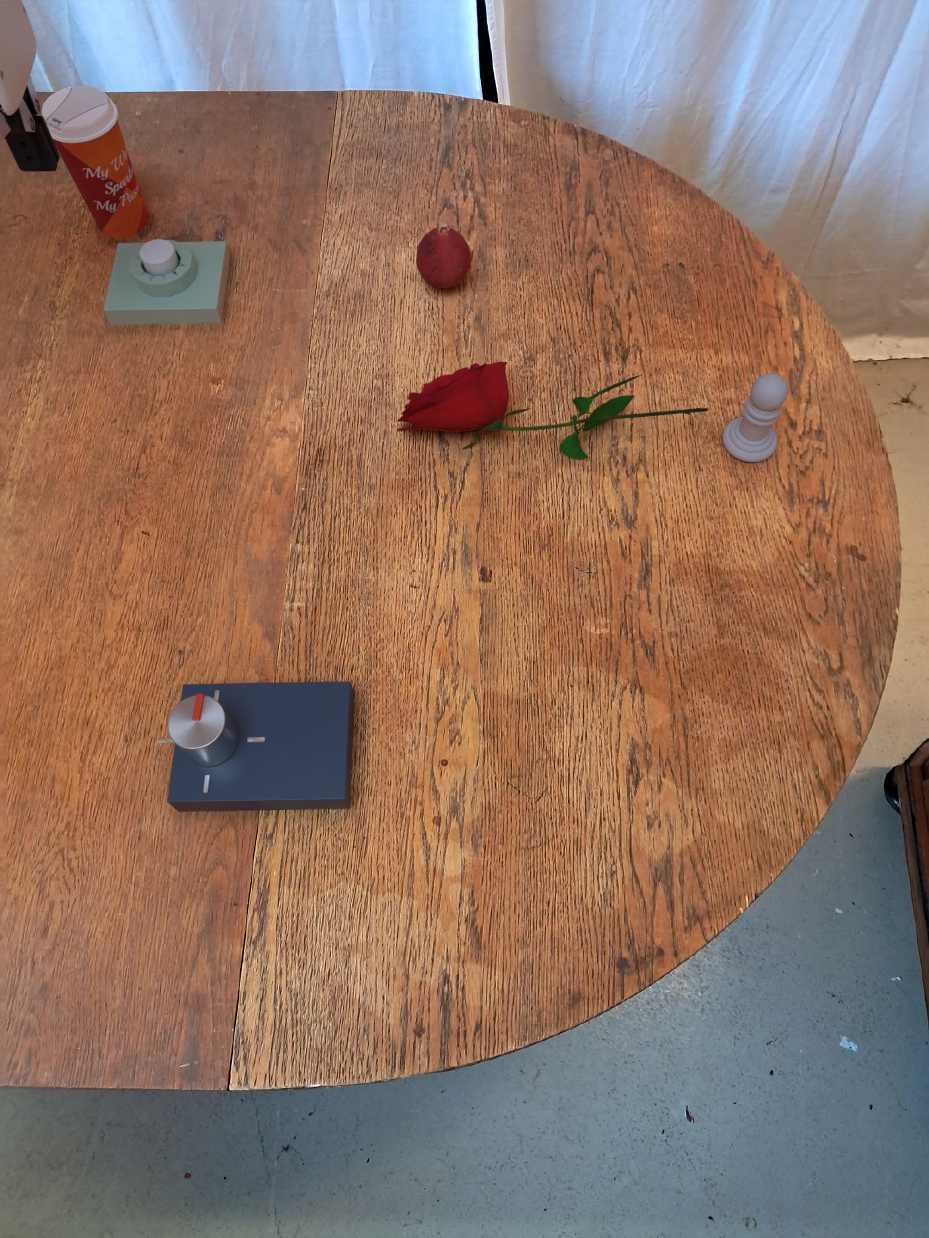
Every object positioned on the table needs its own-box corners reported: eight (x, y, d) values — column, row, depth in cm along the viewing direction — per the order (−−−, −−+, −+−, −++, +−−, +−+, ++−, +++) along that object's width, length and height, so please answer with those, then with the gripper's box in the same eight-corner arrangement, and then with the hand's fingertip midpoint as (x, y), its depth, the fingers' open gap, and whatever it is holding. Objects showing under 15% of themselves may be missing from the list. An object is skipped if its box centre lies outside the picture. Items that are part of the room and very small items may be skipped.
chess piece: (714, 453, 88) (738, 392, 80) (730, 414, 90) (755, 350, 82) (766, 471, 87) (796, 411, 79) (782, 431, 89) (812, 369, 81)
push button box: (110, 325, 96) (96, 297, 93) (124, 258, 101) (111, 229, 97) (221, 323, 96) (212, 295, 93) (231, 257, 101) (222, 227, 97)
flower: (715, 335, 80) (383, 354, 82) (718, 442, 80) (387, 457, 83) (698, 361, 89) (399, 377, 92) (700, 457, 89) (402, 470, 92)
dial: (234, 767, 71) (219, 748, 67) (180, 766, 71) (161, 747, 67) (242, 715, 73) (228, 693, 69) (189, 714, 73) (171, 692, 69)
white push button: (142, 277, 94) (136, 263, 93) (147, 252, 96) (141, 239, 95) (176, 276, 94) (171, 263, 93) (180, 252, 96) (176, 238, 95)
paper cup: (125, 254, 101) (75, 140, 88) (75, 229, 103) (20, 113, 90) (171, 214, 104) (130, 97, 91) (122, 189, 106) (75, 72, 93)
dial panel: (162, 812, 73) (149, 801, 70) (177, 697, 77) (166, 683, 74) (349, 808, 73) (344, 798, 70) (354, 694, 77) (350, 680, 74)
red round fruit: (430, 311, 97) (427, 251, 90) (410, 276, 99) (405, 215, 92) (479, 295, 98) (480, 234, 91) (458, 260, 100) (456, 198, 93)
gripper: (-96, -133, 65) (14, 111, 81) (-156, -15, 58) (-22, 225, 74) (9, -132, 65) (98, 111, 81) (-38, -15, 58) (69, 225, 74)
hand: (40, 165), depth 78 cm, fingers closed
